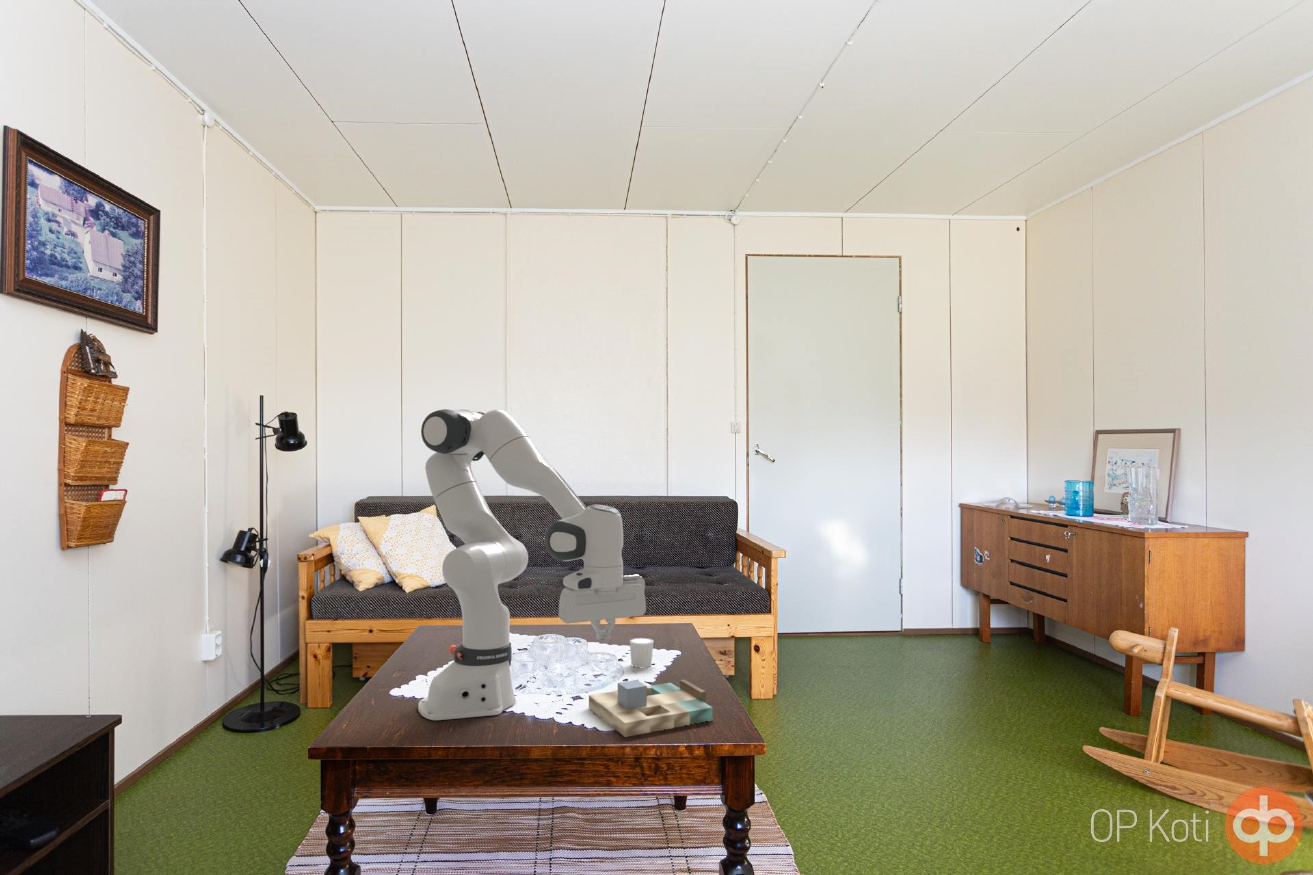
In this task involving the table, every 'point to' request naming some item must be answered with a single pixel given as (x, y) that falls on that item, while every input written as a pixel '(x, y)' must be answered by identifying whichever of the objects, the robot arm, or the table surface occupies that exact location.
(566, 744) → the table surface
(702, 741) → the table surface
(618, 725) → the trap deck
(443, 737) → the table surface
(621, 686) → the slate block
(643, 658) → the shot glass
